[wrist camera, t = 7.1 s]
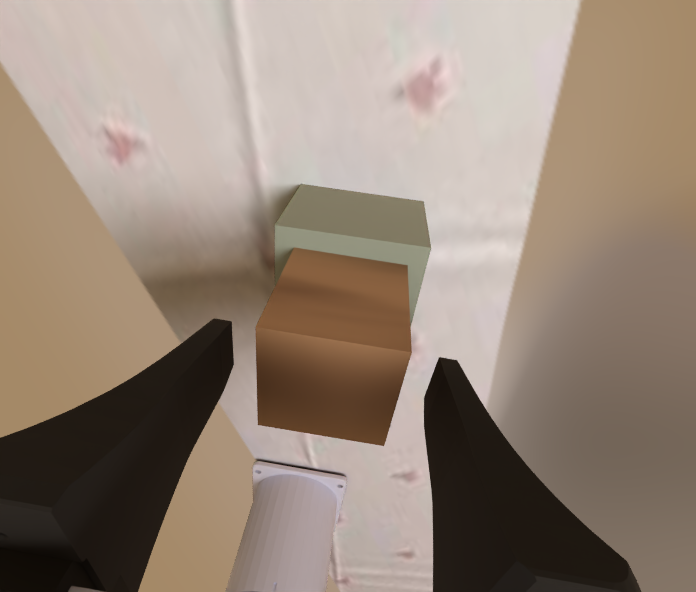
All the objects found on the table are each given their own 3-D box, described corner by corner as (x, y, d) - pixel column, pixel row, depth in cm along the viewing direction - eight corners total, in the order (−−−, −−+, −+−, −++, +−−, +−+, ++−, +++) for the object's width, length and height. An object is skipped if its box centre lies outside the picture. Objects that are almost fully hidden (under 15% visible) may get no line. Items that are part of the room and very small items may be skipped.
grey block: (400, 300, 22) (401, 361, 18) (297, 285, 22) (274, 342, 18) (423, 200, 19) (430, 247, 14) (301, 183, 19) (274, 224, 15)
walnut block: (387, 349, 18) (383, 445, 13) (290, 333, 18) (257, 424, 14) (407, 265, 15) (411, 352, 11) (294, 247, 15) (255, 327, 11)
